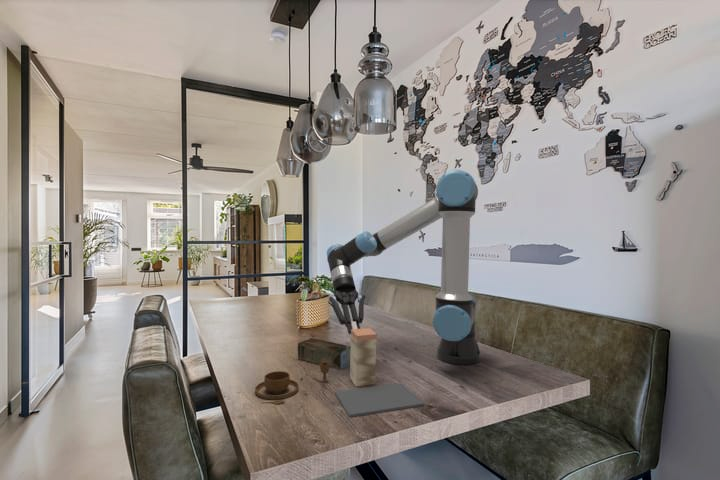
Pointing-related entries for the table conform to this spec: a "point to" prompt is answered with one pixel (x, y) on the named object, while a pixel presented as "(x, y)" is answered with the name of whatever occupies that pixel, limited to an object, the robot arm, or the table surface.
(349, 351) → the beverage carton
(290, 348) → the table surface
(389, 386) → the rubber mat
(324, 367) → the place setting
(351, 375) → the birch block
